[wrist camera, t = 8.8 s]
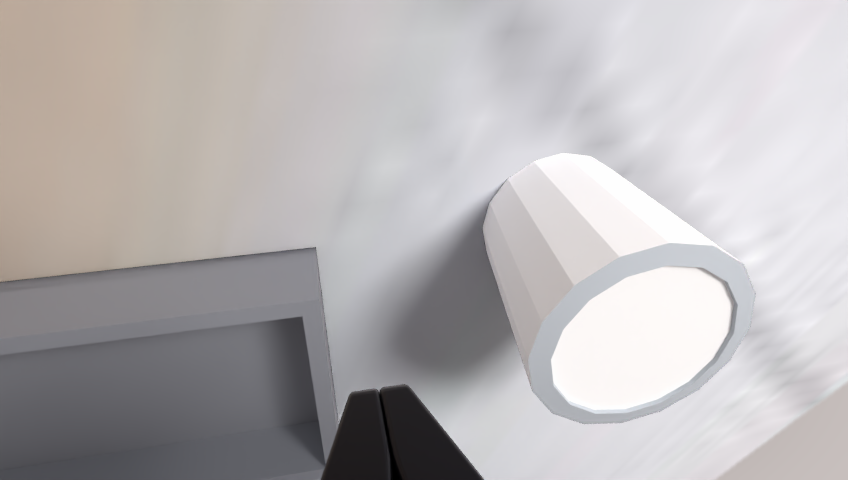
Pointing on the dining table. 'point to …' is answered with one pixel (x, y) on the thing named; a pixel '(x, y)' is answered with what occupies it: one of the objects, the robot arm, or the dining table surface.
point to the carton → (168, 372)
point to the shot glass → (610, 291)
